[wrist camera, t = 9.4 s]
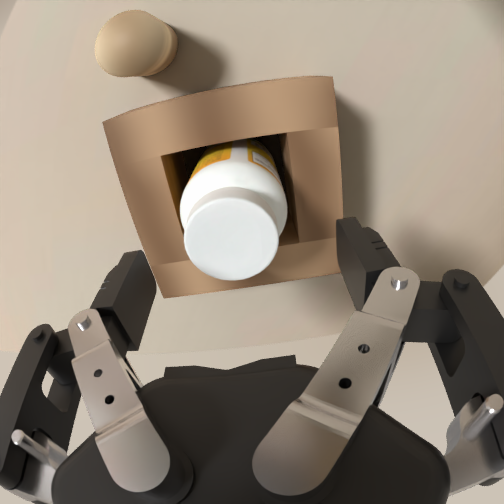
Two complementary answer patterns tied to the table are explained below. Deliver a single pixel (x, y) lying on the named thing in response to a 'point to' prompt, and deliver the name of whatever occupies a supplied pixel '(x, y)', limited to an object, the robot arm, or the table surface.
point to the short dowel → (135, 45)
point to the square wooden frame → (223, 130)
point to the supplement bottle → (233, 210)
